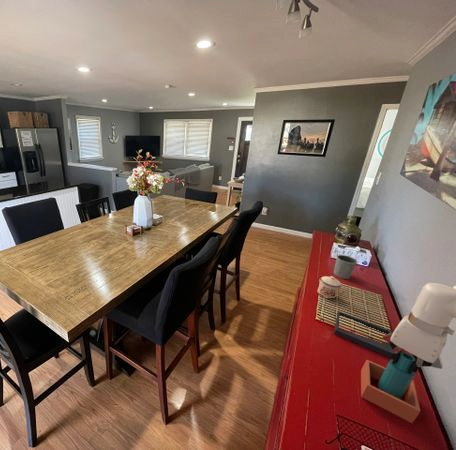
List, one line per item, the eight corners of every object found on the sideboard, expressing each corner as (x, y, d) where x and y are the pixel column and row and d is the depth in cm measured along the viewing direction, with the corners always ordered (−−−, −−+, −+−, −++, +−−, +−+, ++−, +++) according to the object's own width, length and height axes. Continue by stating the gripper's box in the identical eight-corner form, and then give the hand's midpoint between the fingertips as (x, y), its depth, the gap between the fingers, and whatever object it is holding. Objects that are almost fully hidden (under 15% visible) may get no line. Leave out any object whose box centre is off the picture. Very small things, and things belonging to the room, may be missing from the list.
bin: (406, 391, 84) (413, 380, 82) (412, 423, 75) (420, 411, 73) (360, 370, 91) (366, 359, 89) (361, 396, 82) (367, 385, 80)
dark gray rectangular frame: (388, 335, 108) (391, 330, 107) (392, 358, 96) (395, 354, 95) (336, 314, 119) (338, 310, 118) (333, 334, 108) (335, 329, 107)
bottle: (400, 389, 82) (419, 355, 76) (402, 403, 78) (423, 368, 72) (377, 378, 86) (394, 345, 80) (378, 391, 81) (396, 357, 75)
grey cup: (353, 281, 147) (360, 264, 143) (334, 277, 150) (340, 261, 145) (347, 272, 156) (353, 256, 152) (329, 269, 159) (334, 253, 154)
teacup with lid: (316, 295, 133) (322, 278, 128) (316, 287, 140) (322, 270, 135) (342, 304, 127) (350, 286, 122) (342, 295, 134) (348, 277, 129)
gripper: (472, 336, 66) (442, 382, 73) (394, 302, 79) (375, 343, 86) (466, 348, 63) (436, 395, 69) (386, 310, 76) (366, 352, 82)
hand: (402, 366), depth 78 cm, fingers closed on bottle, 3 cm apart
